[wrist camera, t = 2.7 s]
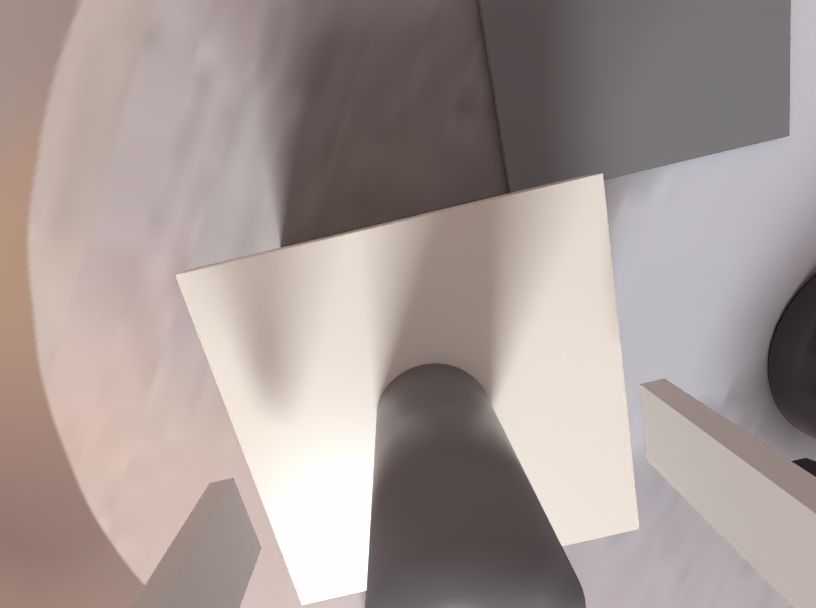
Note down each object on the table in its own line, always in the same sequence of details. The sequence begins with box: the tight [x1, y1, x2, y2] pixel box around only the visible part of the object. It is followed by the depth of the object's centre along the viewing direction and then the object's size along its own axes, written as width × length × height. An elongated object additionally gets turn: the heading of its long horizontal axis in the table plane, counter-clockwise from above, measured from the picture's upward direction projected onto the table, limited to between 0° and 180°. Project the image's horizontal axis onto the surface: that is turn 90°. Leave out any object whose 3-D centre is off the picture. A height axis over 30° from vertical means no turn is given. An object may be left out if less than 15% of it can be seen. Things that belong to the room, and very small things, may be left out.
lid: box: [175, 173, 639, 608], centre depth 13 cm, size 15×15×10 cm
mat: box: [478, 0, 791, 193], centre depth 23 cm, size 17×17×1 cm
